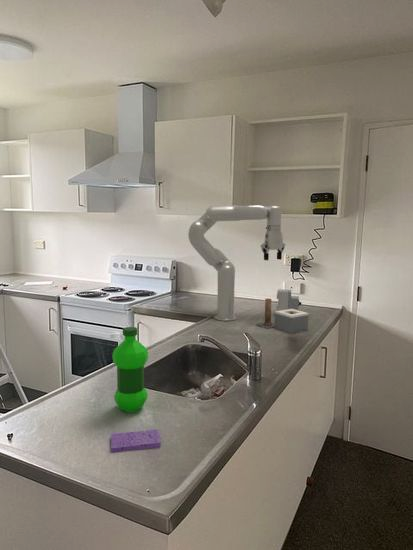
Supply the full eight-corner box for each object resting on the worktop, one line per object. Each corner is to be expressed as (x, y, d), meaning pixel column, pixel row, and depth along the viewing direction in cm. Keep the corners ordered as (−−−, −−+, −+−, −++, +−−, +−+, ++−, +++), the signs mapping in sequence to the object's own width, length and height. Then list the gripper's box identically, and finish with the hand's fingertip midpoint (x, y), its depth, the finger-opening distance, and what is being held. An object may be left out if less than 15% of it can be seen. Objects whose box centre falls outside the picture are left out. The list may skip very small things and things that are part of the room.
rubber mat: (255, 324, 226) (255, 324, 226) (268, 322, 231) (268, 321, 231) (266, 328, 219) (266, 327, 219) (279, 326, 224) (279, 325, 224)
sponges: (160, 449, 107) (160, 442, 107) (110, 454, 104) (110, 447, 104) (158, 434, 114) (158, 428, 114) (110, 439, 111) (110, 432, 111)
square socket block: (274, 328, 221) (275, 311, 219) (290, 324, 227) (291, 308, 226) (291, 333, 211) (291, 316, 210) (307, 330, 217) (308, 313, 216)
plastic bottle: (155, 407, 129) (154, 328, 125) (127, 419, 121) (126, 335, 117) (134, 397, 135) (133, 322, 132) (106, 408, 127) (105, 329, 124)
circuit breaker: (300, 317, 243) (302, 292, 241) (276, 316, 246) (276, 291, 244) (300, 315, 250) (301, 290, 248) (276, 313, 253) (277, 289, 251)
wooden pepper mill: (261, 324, 226) (262, 298, 224) (267, 323, 228) (268, 298, 226) (267, 326, 222) (268, 300, 220) (273, 325, 225) (274, 299, 223)
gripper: (266, 229, 222) (265, 261, 225) (289, 228, 232) (288, 259, 234) (257, 228, 229) (256, 259, 231) (280, 228, 238) (279, 258, 241)
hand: (272, 259), depth 233 cm, fingers open, 9 cm apart
